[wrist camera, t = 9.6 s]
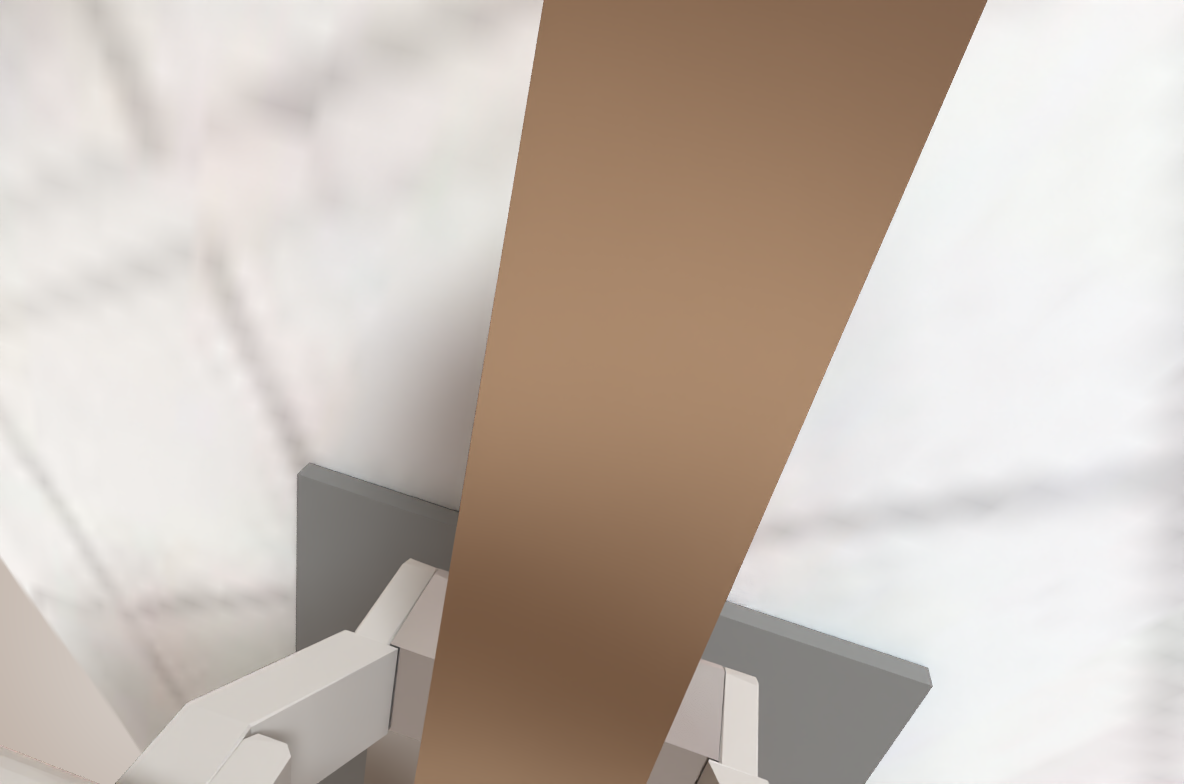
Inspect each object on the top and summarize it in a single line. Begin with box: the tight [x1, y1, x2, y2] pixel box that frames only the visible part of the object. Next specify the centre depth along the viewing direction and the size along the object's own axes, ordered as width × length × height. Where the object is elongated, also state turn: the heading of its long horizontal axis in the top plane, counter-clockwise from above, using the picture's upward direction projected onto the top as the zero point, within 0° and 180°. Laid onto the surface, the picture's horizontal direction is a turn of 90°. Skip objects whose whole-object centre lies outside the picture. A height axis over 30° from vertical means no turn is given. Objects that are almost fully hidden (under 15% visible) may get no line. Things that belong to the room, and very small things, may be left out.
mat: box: [296, 463, 932, 784], centre depth 23 cm, size 18×16×1 cm
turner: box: [364, 0, 987, 784], centre depth 11 cm, size 21×7×4 cm, turn 166°
